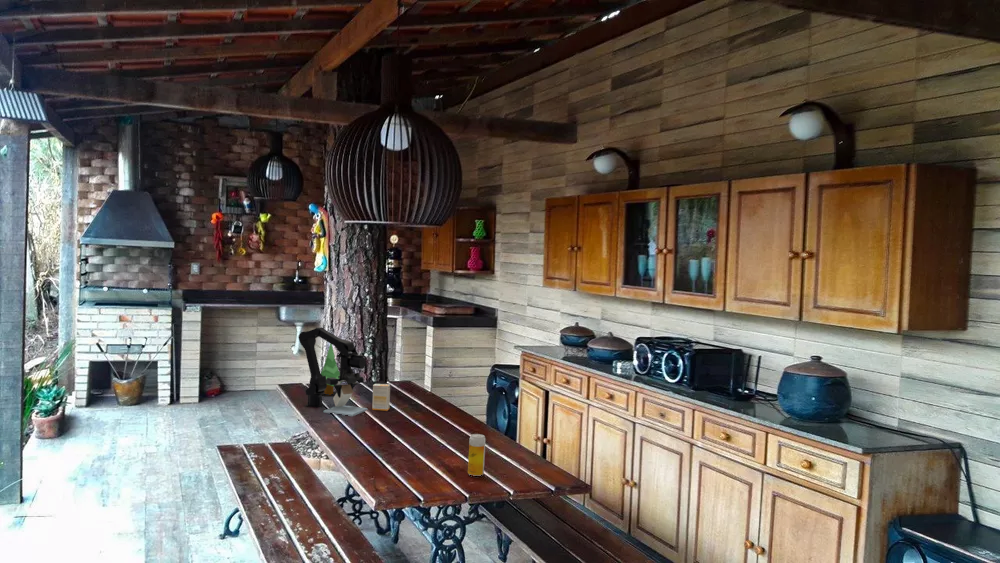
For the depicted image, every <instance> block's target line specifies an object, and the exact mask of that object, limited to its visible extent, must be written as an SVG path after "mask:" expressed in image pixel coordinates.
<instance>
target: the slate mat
mask: <svg viewBox="0 0 1000 563" xmlns="http://www.w3.org/2000/svg"><path fill="white" fill-rule="evenodd" d="M368 409H369V408H367V407H358V406H352V405H347V404H346V405H345V406H338V407H336V406H335V405H334V406H332V407H331V408H328V409H325V410H323V413H324V414H330V413H334V414H333V415H337V414H342V415H341V416H345V415H348V416H347V417H355V416H356V415H360V414H362V413H364V412H367V411H368ZM366 410H367V411H366Z"/></svg>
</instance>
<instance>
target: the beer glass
mask: <svg viewBox="0 0 1000 563" xmlns="http://www.w3.org/2000/svg"><path fill="white" fill-rule="evenodd" d="M486 439H487V438H486V436H485V435H484V434H480V433H473V434H471V435H470V437H469V442H468V444H469V445H468V459H467V461H468V463H467V474H468V476H470V475H473V476H481V475H482V476H483V475H484V473H485V461H486V460H485V458H486V457H485V456H486ZM482 476H481V477H482Z"/></svg>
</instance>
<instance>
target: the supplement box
mask: <svg viewBox="0 0 1000 563" xmlns="http://www.w3.org/2000/svg"><path fill="white" fill-rule="evenodd" d="M390 397H391V384H387V383H374V384H373V385H372V405H371V406H372V407H371V409H372V410H373V411H386V412H387V411H389V410H390V403H391V402H390V401H391V400H390V399H391V398H390Z"/></svg>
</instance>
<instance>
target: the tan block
mask: <svg viewBox="0 0 1000 563" xmlns="http://www.w3.org/2000/svg"><path fill="white" fill-rule="evenodd" d="M341 385H342V386H341V396H340V398H339V397H338V394H337V392H336V393H335V395H334V396H333V398H332V399H333V403H334V407H335V406H336V407H338V406H345V405H346V406H347V403H348V402H349V400H350V398H351V397H352V395H353V394H354V391H353V390H354V389H353V390H352V388H351V385H350V384H349V385H348V384H341Z"/></svg>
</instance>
